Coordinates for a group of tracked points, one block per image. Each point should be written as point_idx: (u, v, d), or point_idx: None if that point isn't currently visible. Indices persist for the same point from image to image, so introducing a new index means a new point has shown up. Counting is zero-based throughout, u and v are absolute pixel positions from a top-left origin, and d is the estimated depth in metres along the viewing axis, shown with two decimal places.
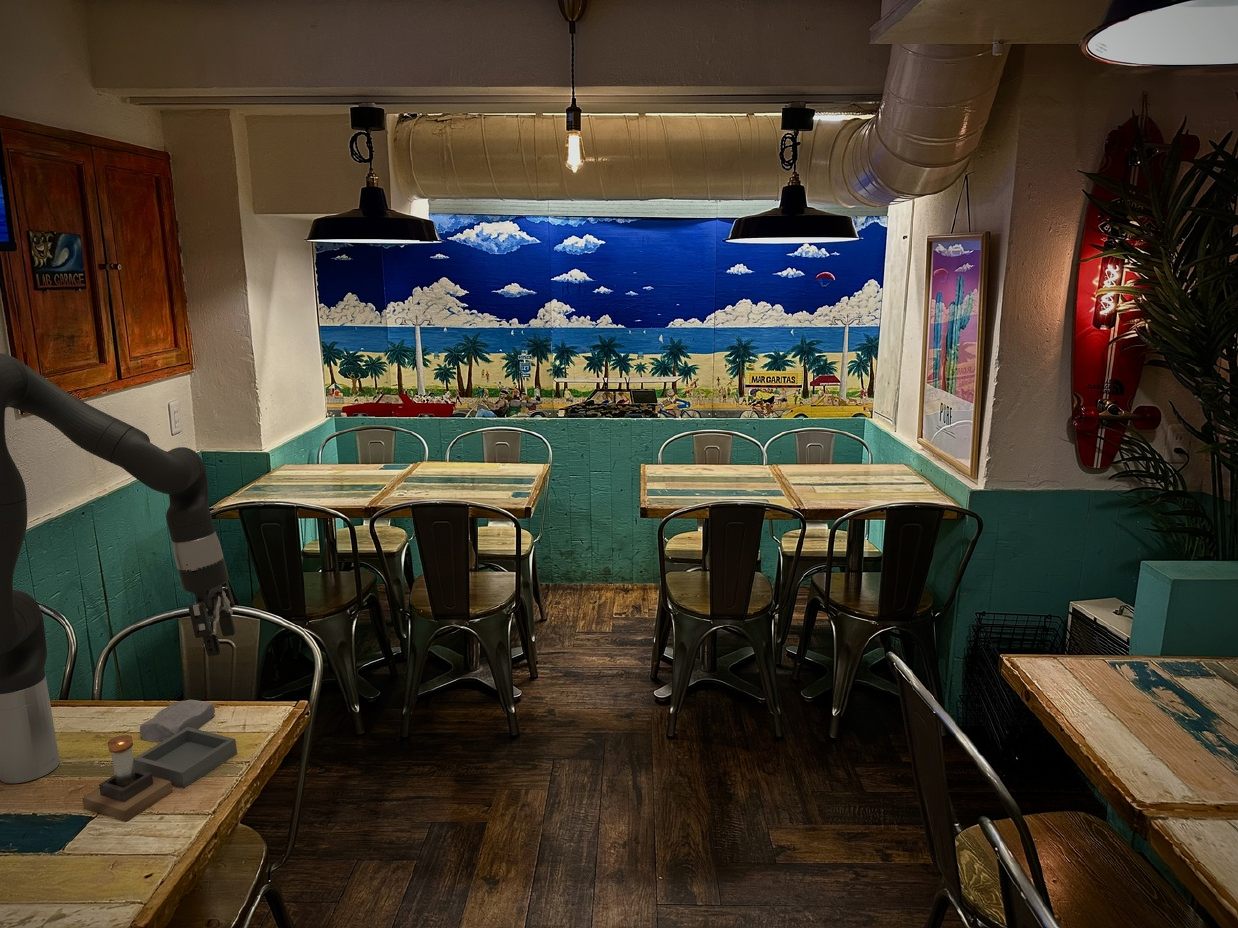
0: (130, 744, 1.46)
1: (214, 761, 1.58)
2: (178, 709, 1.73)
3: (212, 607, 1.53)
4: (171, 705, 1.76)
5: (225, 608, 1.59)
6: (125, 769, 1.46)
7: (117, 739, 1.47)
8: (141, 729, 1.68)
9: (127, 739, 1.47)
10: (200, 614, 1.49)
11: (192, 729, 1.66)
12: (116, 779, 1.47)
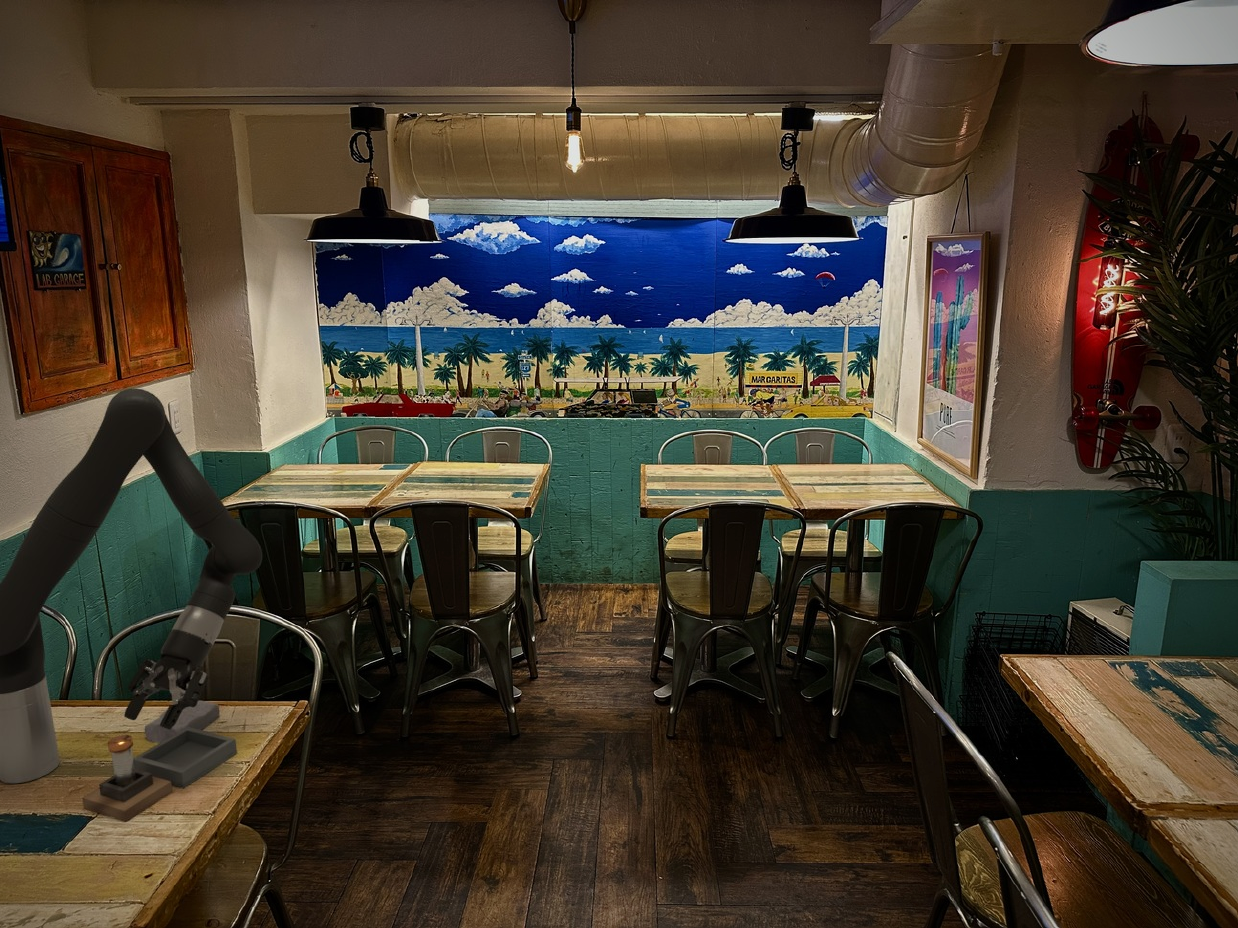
0: (130, 744, 1.46)
1: (214, 761, 1.58)
2: (183, 709, 1.73)
3: None
4: None
5: (154, 690, 1.56)
6: (125, 769, 1.46)
7: (117, 739, 1.47)
8: (146, 730, 1.68)
9: (127, 739, 1.47)
10: (202, 683, 1.53)
11: (192, 729, 1.66)
12: (116, 779, 1.47)
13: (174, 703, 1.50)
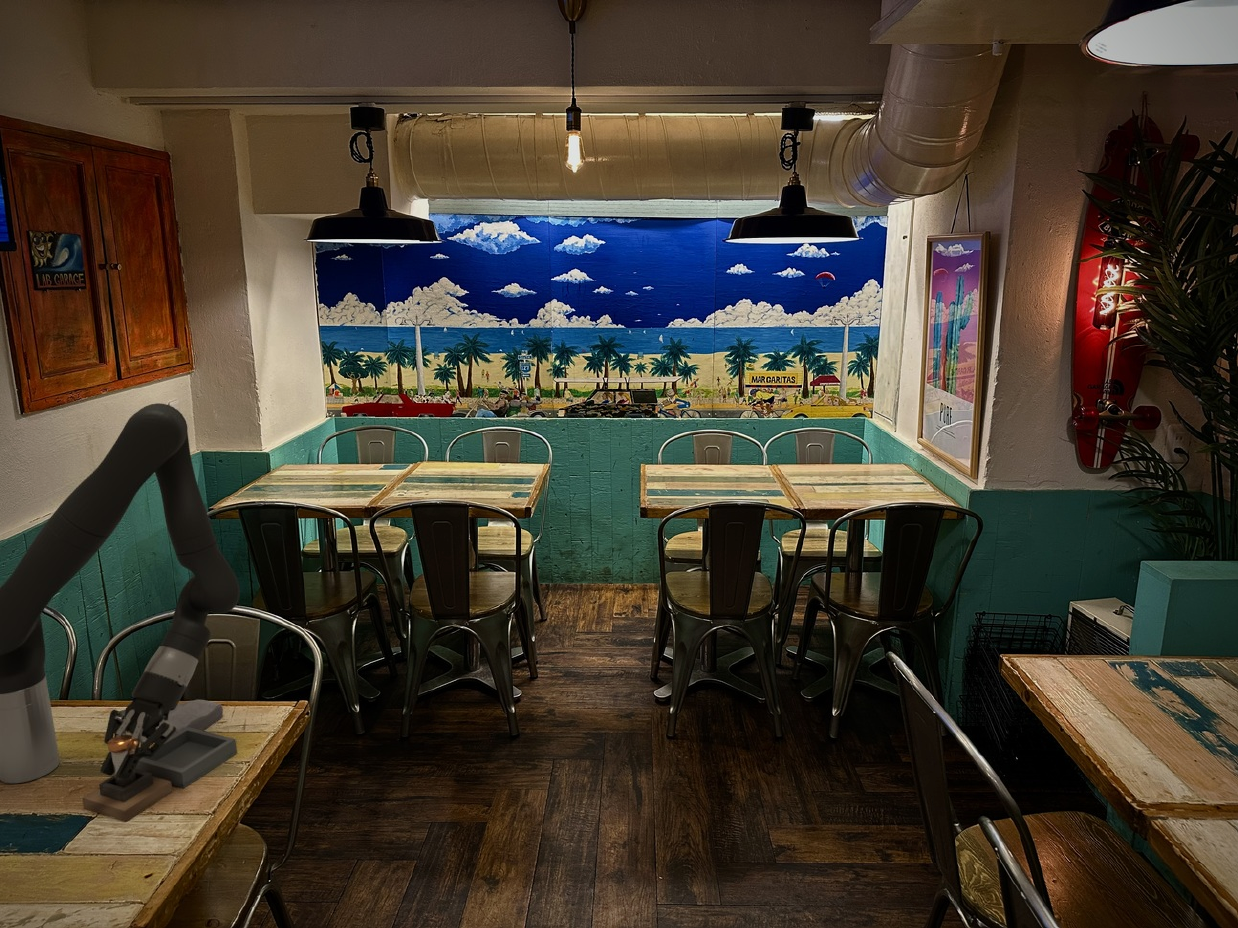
0: (130, 744, 1.46)
1: (214, 761, 1.58)
2: (187, 709, 1.73)
3: None
4: (180, 705, 1.76)
5: None
6: None
7: (117, 739, 1.47)
8: None
9: (127, 739, 1.47)
10: (166, 736, 1.48)
11: (192, 729, 1.66)
12: (116, 779, 1.47)
13: (130, 753, 1.46)
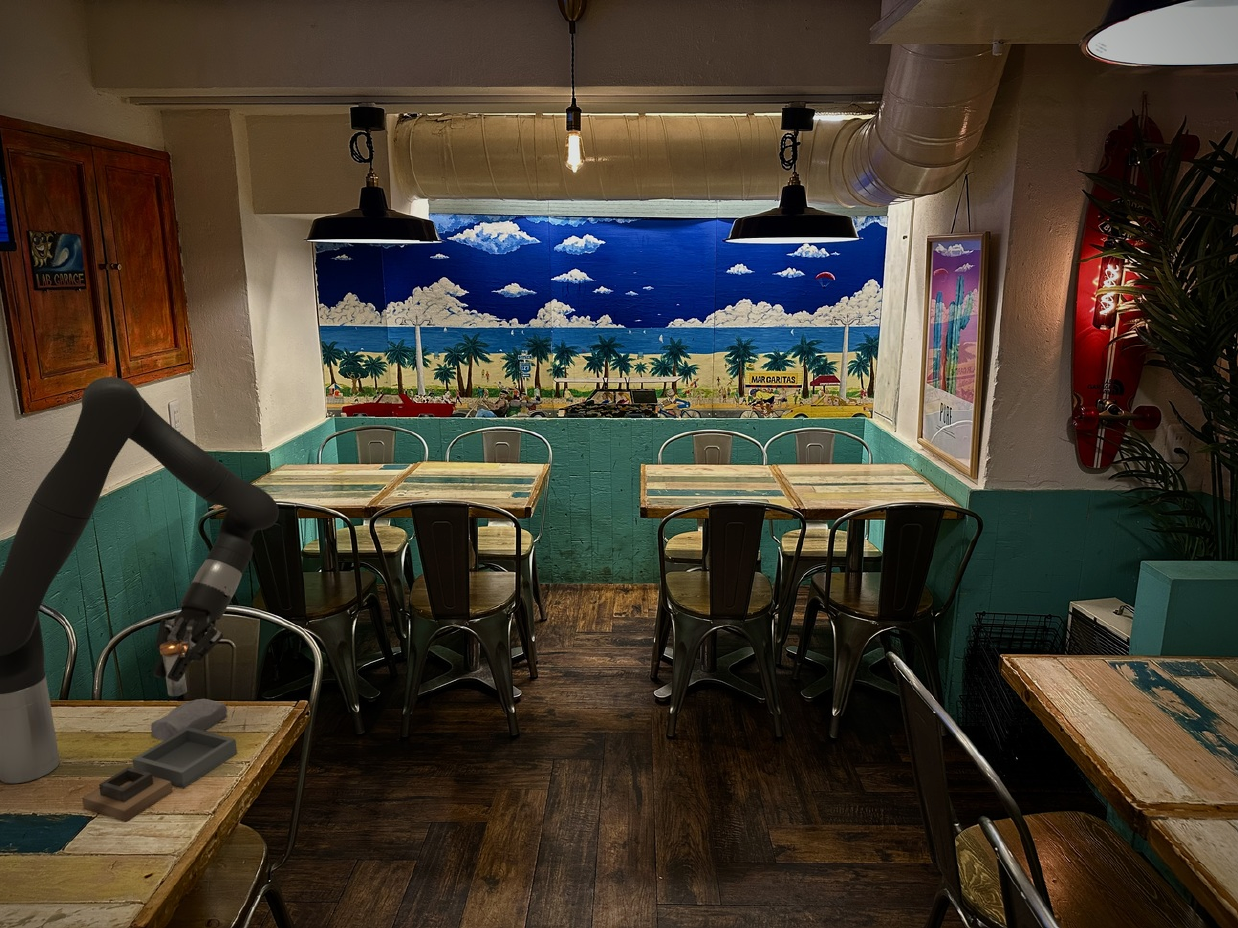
0: (180, 648, 1.54)
1: (214, 761, 1.58)
2: (190, 708, 1.74)
3: (202, 636, 1.58)
4: (186, 703, 1.77)
5: None
6: None
7: (168, 644, 1.55)
8: (152, 726, 1.69)
9: (177, 643, 1.55)
10: (214, 641, 1.56)
11: (192, 729, 1.66)
12: (167, 682, 1.55)
13: (181, 656, 1.54)
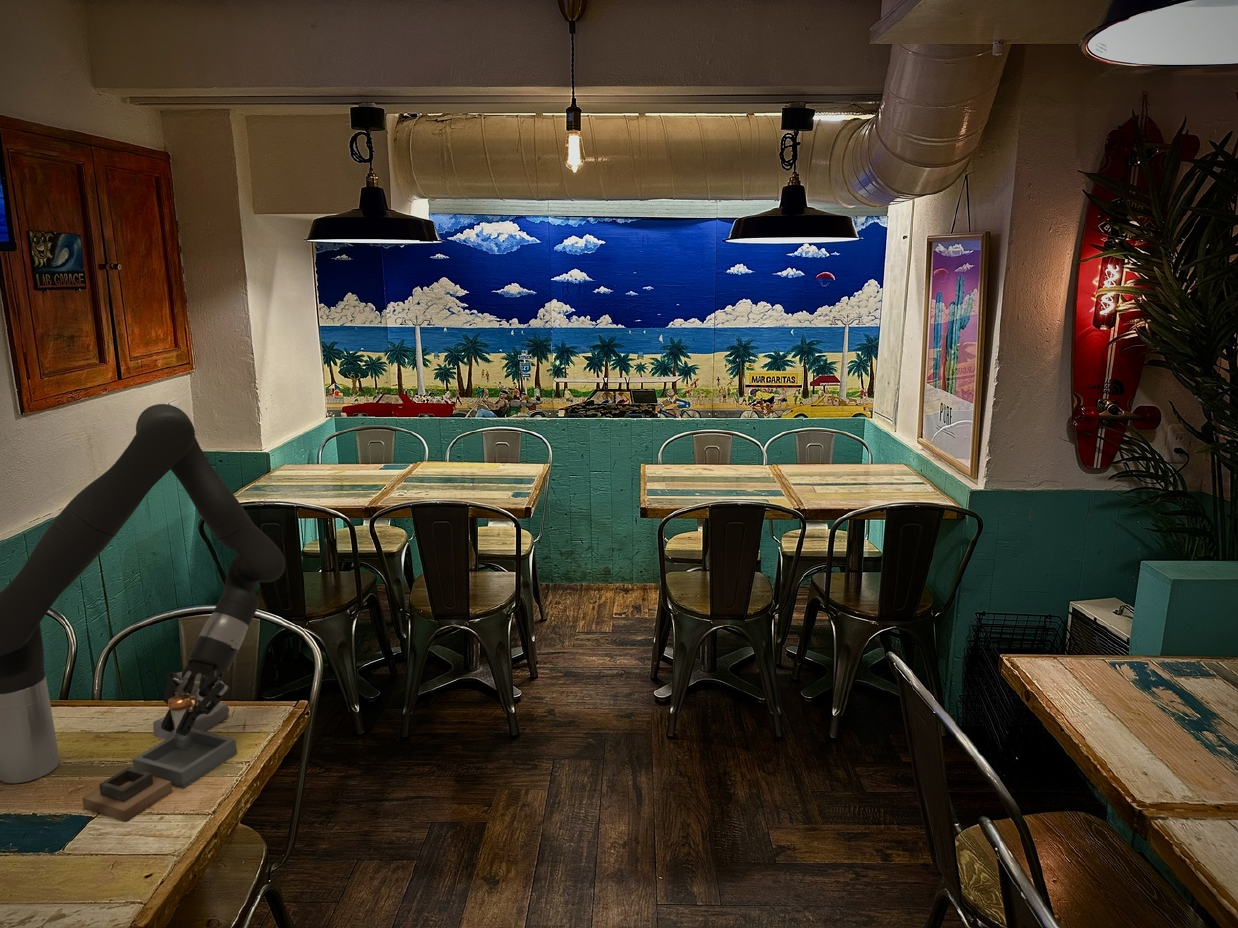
0: (188, 702, 1.57)
1: (214, 761, 1.58)
2: None
3: None
4: None
5: None
6: None
7: (176, 698, 1.57)
8: (154, 725, 1.69)
9: (185, 698, 1.57)
10: (221, 695, 1.58)
11: None
12: (175, 735, 1.57)
13: (189, 710, 1.56)
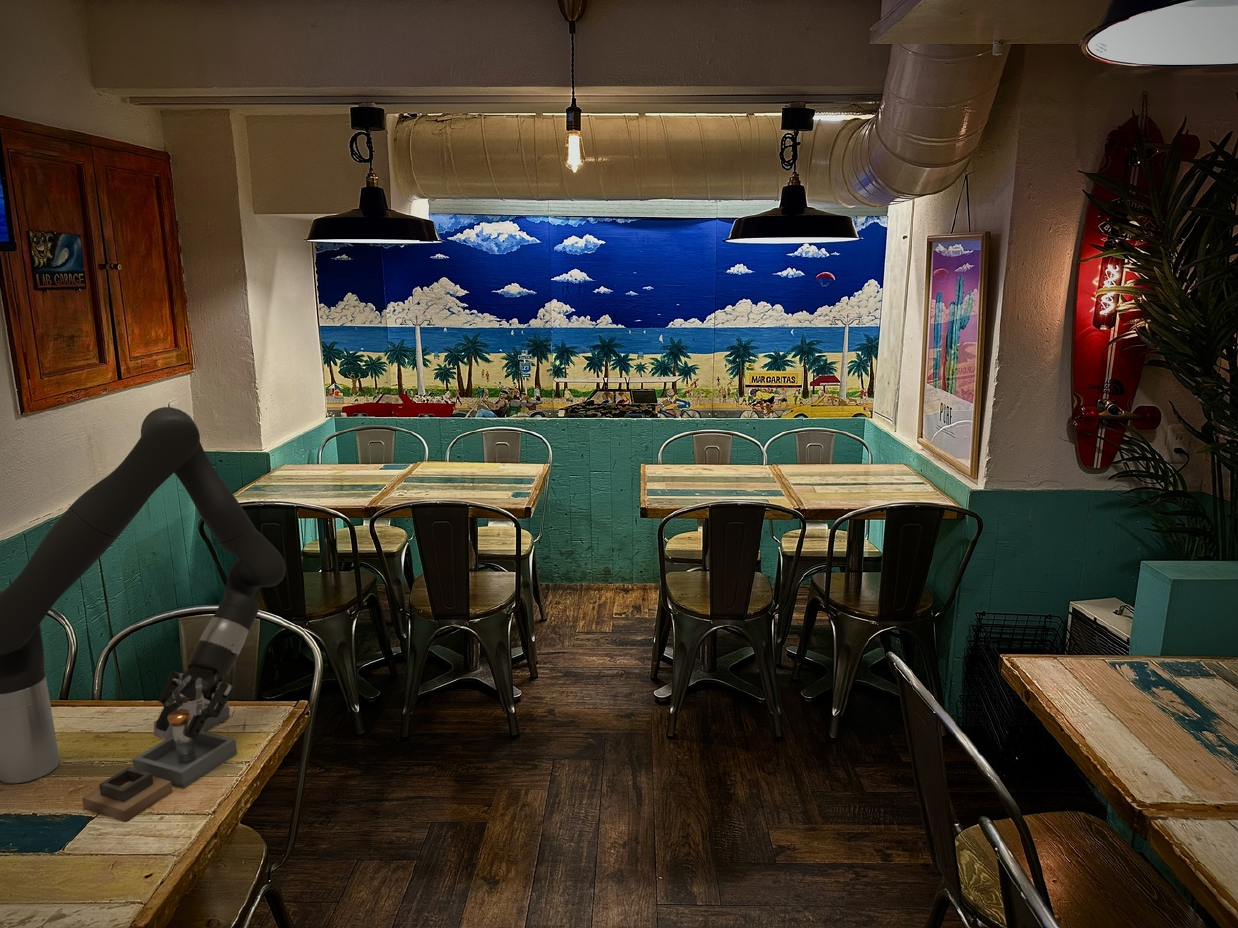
0: (188, 718, 1.57)
1: (214, 761, 1.58)
2: (194, 707, 1.74)
3: None
4: (190, 702, 1.77)
5: (184, 701, 1.61)
6: (185, 740, 1.57)
7: (175, 713, 1.57)
8: (154, 725, 1.70)
9: (185, 713, 1.57)
10: (227, 695, 1.59)
11: None
12: (176, 750, 1.58)
13: (198, 713, 1.56)
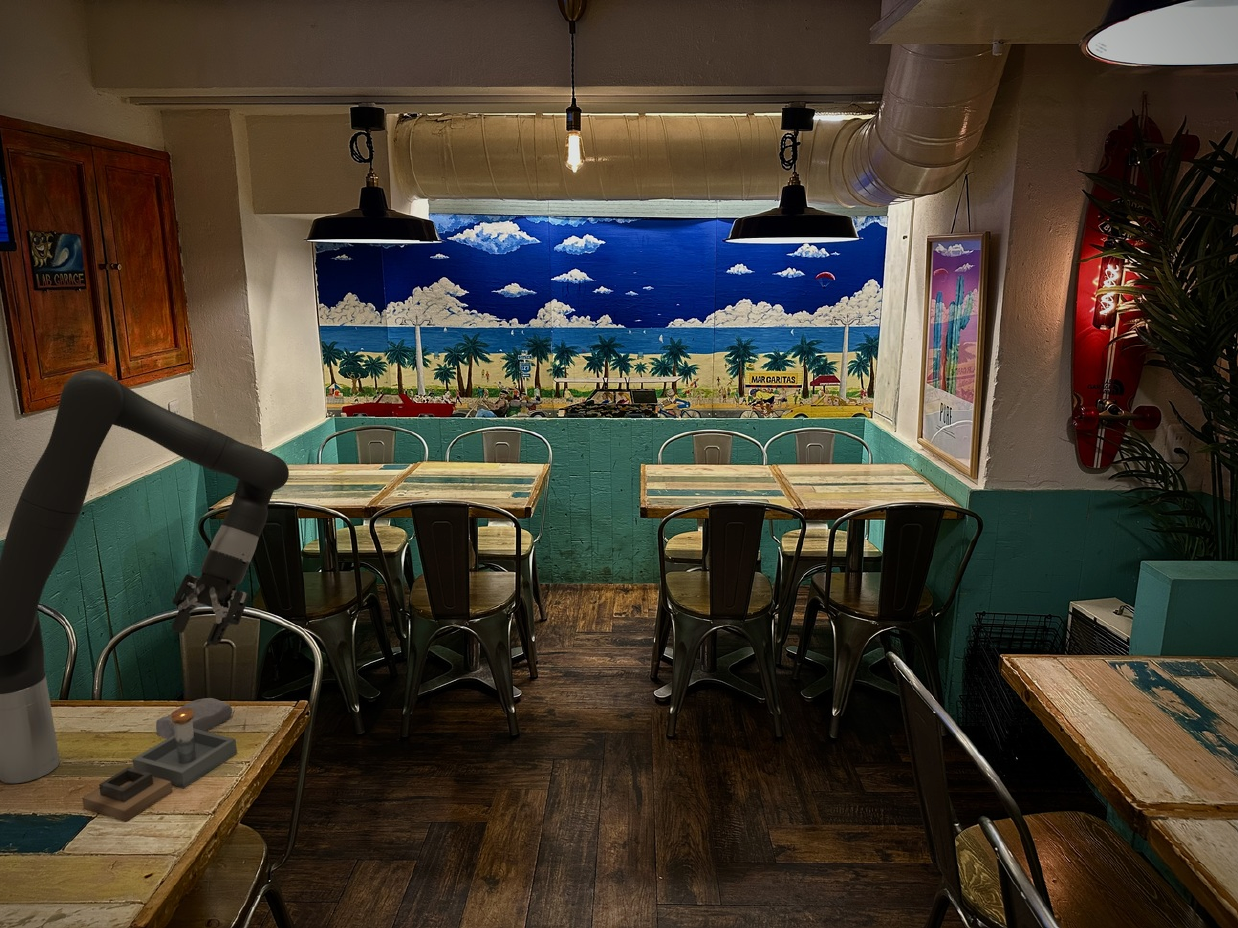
0: (191, 716, 1.58)
1: (214, 761, 1.58)
2: (196, 707, 1.74)
3: None
4: (193, 701, 1.78)
5: (198, 605, 1.63)
6: (186, 739, 1.58)
7: (179, 711, 1.58)
8: (156, 724, 1.70)
9: (188, 711, 1.58)
10: (243, 602, 1.60)
11: None
12: (177, 749, 1.58)
13: (218, 622, 1.58)
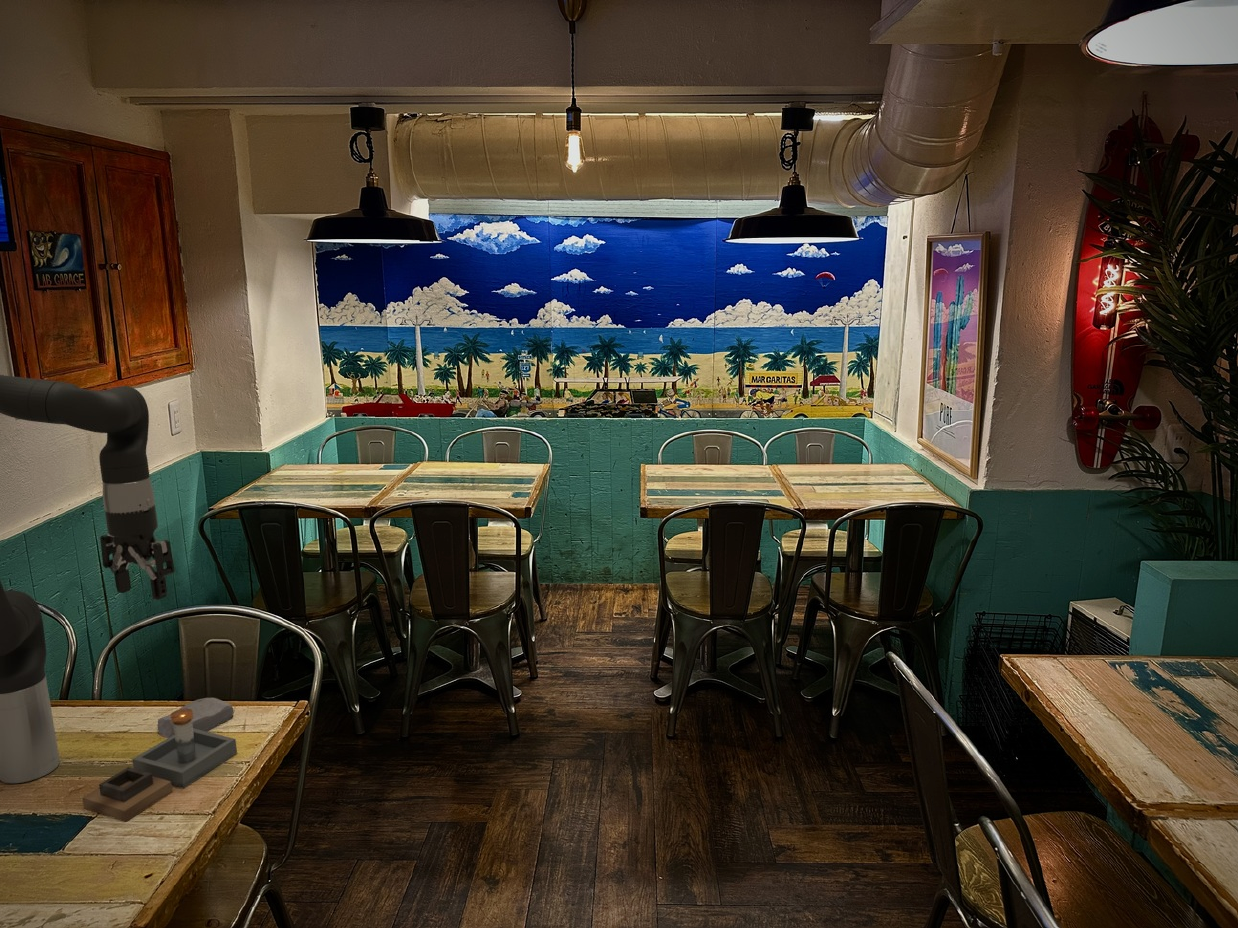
0: (191, 717, 1.58)
1: (214, 761, 1.58)
2: (197, 706, 1.74)
3: None
4: (196, 701, 1.78)
5: None
6: (186, 740, 1.58)
7: (179, 712, 1.58)
8: (158, 723, 1.70)
9: (188, 712, 1.58)
10: (167, 551, 1.48)
11: None
12: (177, 749, 1.58)
13: (153, 578, 1.48)
